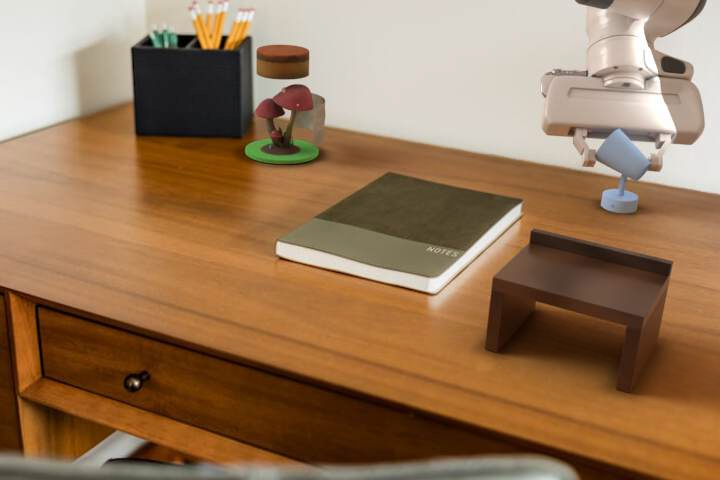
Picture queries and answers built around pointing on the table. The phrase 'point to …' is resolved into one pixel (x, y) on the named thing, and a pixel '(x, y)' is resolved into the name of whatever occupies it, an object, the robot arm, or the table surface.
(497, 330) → the shelf
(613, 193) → the spotlight
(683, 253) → the table surface
